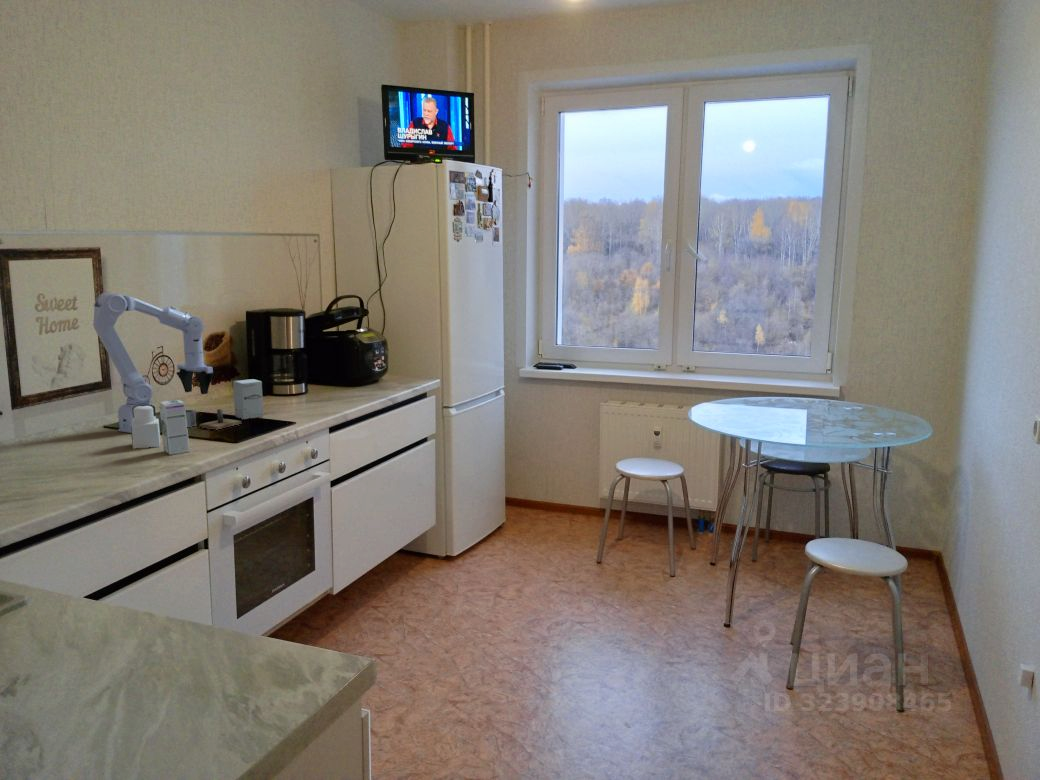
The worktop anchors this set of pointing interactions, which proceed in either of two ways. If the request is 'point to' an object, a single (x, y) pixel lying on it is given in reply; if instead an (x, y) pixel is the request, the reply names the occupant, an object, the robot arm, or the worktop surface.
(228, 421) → the shaft block
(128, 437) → the worktop surface
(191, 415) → the tube
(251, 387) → the supplement box
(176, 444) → the syrup box
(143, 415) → the medicine bottle
